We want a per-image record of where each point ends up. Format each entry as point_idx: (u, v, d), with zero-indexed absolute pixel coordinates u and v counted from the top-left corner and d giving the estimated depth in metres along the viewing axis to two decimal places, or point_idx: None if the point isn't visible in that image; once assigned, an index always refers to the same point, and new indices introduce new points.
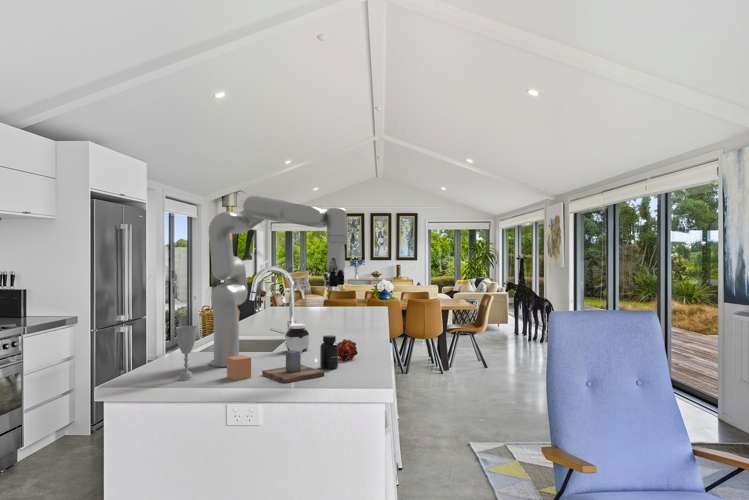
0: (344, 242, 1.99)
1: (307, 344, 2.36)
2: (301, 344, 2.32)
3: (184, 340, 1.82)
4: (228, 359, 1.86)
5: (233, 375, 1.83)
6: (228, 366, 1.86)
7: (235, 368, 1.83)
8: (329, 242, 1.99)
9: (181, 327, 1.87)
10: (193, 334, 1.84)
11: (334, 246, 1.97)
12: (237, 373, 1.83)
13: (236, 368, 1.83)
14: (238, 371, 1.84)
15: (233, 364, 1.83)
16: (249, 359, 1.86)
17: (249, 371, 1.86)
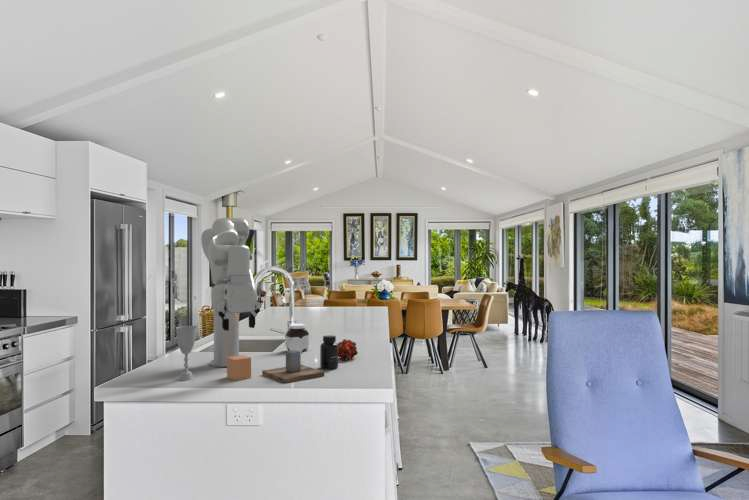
0: None
1: (307, 344, 2.36)
2: (301, 344, 2.32)
3: (184, 340, 1.82)
4: (228, 359, 1.86)
5: (233, 375, 1.83)
6: (228, 366, 1.86)
7: (235, 368, 1.83)
8: (249, 282, 1.87)
9: (181, 327, 1.87)
10: (193, 334, 1.84)
11: None
12: (237, 373, 1.83)
13: (236, 368, 1.83)
14: (238, 371, 1.84)
15: (233, 364, 1.83)
16: (249, 359, 1.86)
17: (249, 371, 1.86)
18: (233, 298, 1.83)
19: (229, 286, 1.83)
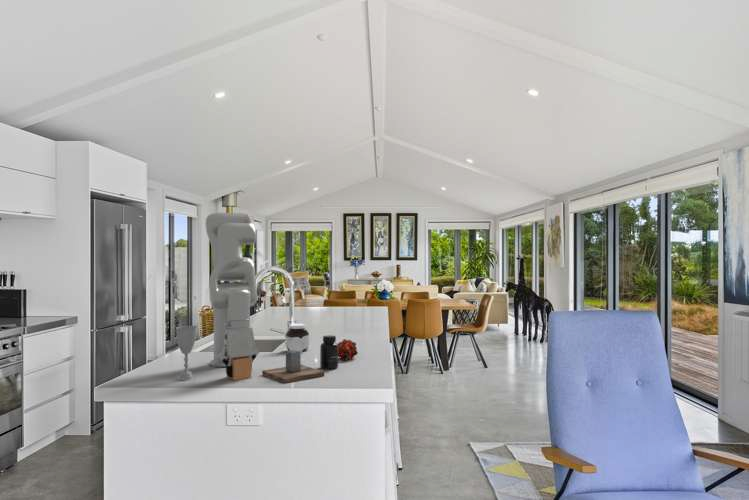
0: None
1: (307, 344, 2.36)
2: (301, 344, 2.32)
3: (184, 340, 1.82)
4: None
5: (233, 375, 1.83)
6: None
7: (235, 368, 1.83)
8: (249, 326, 1.87)
9: (181, 327, 1.87)
10: (193, 334, 1.84)
11: None
12: (237, 373, 1.83)
13: (236, 368, 1.83)
14: (238, 371, 1.84)
15: (233, 364, 1.83)
16: (249, 359, 1.86)
17: (249, 371, 1.86)
18: (233, 343, 1.83)
19: (229, 331, 1.83)
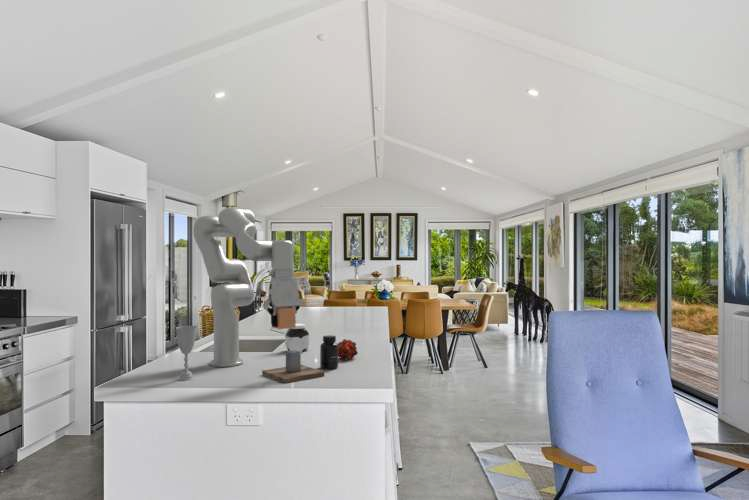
0: None
1: (307, 344, 2.36)
2: (301, 344, 2.32)
3: (184, 340, 1.82)
4: None
5: (278, 324, 1.85)
6: None
7: (280, 317, 1.85)
8: None
9: (181, 327, 1.87)
10: (193, 334, 1.84)
11: None
12: (282, 322, 1.85)
13: (281, 317, 1.85)
14: (283, 320, 1.85)
15: (278, 313, 1.85)
16: (293, 309, 1.88)
17: (293, 321, 1.88)
18: (278, 292, 1.85)
19: (274, 281, 1.85)
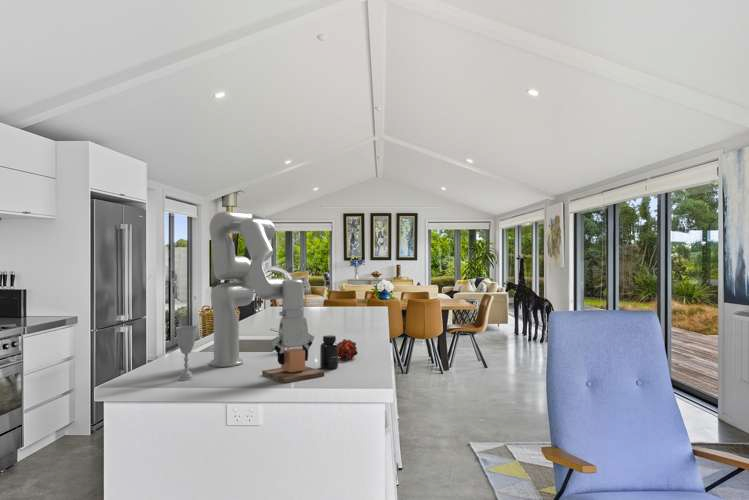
0: None
1: None
2: None
3: (184, 340, 1.82)
4: None
5: (288, 367, 1.86)
6: None
7: (290, 360, 1.85)
8: (303, 315, 1.90)
9: (181, 327, 1.87)
10: (193, 334, 1.84)
11: None
12: (292, 365, 1.86)
13: (291, 360, 1.86)
14: (293, 363, 1.86)
15: (288, 356, 1.86)
16: (303, 352, 1.89)
17: (303, 363, 1.89)
18: (288, 332, 1.85)
19: (284, 321, 1.85)
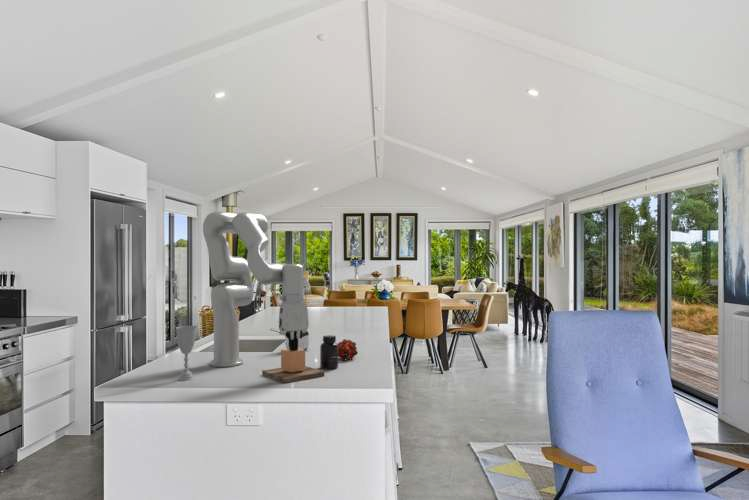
0: None
1: (307, 344, 2.36)
2: (301, 344, 2.32)
3: (184, 340, 1.82)
4: (282, 352, 1.89)
5: (288, 367, 1.86)
6: (282, 358, 1.89)
7: (290, 360, 1.85)
8: (303, 300, 1.90)
9: (181, 327, 1.87)
10: (193, 334, 1.84)
11: None
12: (292, 365, 1.86)
13: (291, 360, 1.86)
14: (293, 363, 1.86)
15: (288, 356, 1.86)
16: (303, 352, 1.89)
17: (303, 363, 1.89)
18: (289, 317, 1.85)
19: (285, 305, 1.85)
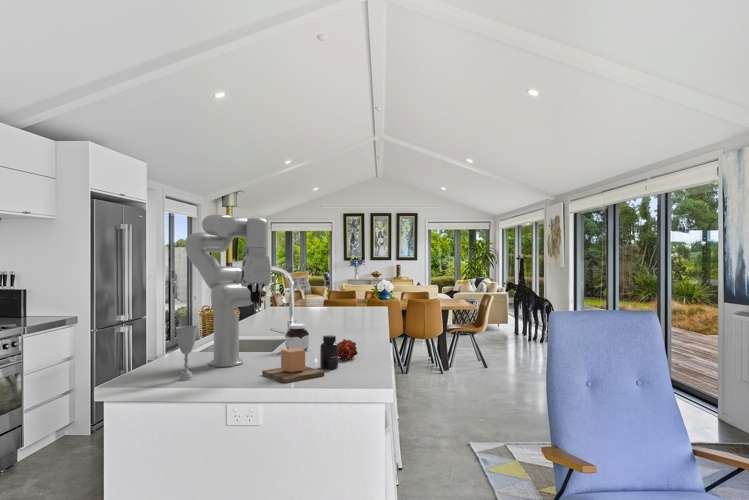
0: None
1: (307, 344, 2.36)
2: (301, 344, 2.32)
3: (184, 340, 1.82)
4: (282, 352, 1.89)
5: (288, 367, 1.86)
6: (282, 358, 1.89)
7: (290, 360, 1.85)
8: (266, 254, 1.94)
9: (181, 327, 1.87)
10: (193, 334, 1.84)
11: None
12: (292, 365, 1.86)
13: (291, 360, 1.86)
14: (293, 363, 1.86)
15: (288, 356, 1.86)
16: (303, 352, 1.89)
17: (303, 363, 1.89)
18: (251, 269, 1.89)
19: (247, 257, 1.89)
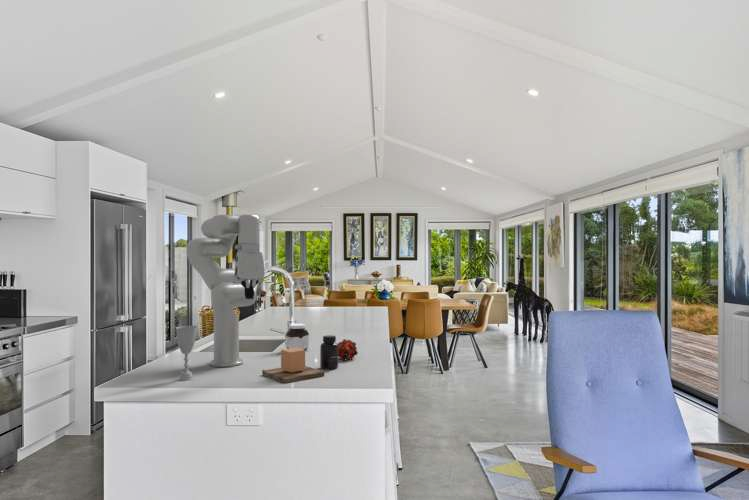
0: None
1: (307, 344, 2.36)
2: (301, 344, 2.32)
3: (184, 340, 1.82)
4: (282, 352, 1.89)
5: (288, 367, 1.86)
6: (282, 358, 1.89)
7: (290, 360, 1.85)
8: (259, 250, 1.94)
9: (181, 327, 1.87)
10: (193, 334, 1.84)
11: None
12: (292, 365, 1.86)
13: (291, 360, 1.86)
14: (293, 363, 1.86)
15: (288, 356, 1.86)
16: (303, 352, 1.89)
17: (303, 363, 1.89)
18: (244, 265, 1.90)
19: (240, 253, 1.90)
